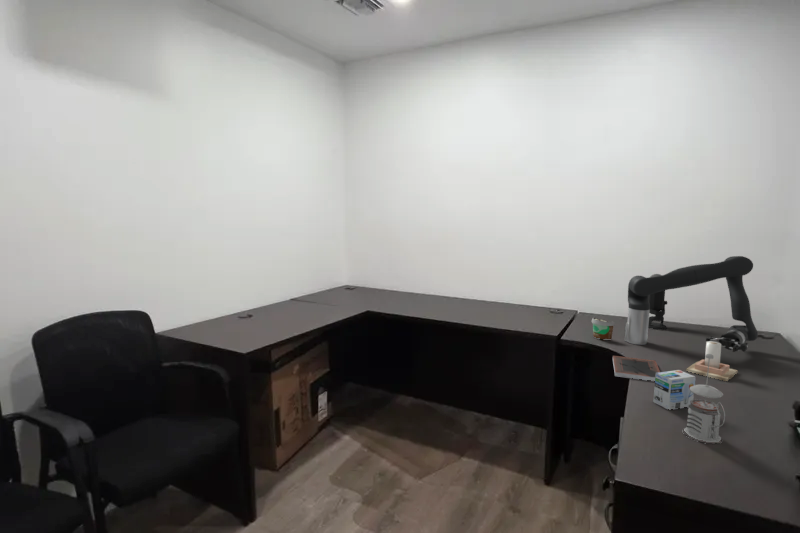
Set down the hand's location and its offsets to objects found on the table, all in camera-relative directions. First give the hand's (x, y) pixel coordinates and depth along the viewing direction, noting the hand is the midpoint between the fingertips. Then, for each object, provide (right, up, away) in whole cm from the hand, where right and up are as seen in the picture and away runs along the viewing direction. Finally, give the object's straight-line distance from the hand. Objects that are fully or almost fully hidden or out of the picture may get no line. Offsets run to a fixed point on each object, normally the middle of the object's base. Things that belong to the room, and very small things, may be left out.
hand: (721, 346), depth 186 cm
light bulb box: (-42, -14, -35) cm, 56 cm away
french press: (-46, -16, -56) cm, 75 cm away
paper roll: (-8, -8, -6) cm, 13 cm away
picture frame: (-38, -10, -3) cm, 39 cm away
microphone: (+8, 0, +63) cm, 64 cm away
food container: (-33, -3, +41) cm, 53 cm away
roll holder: (-8, -9, -6) cm, 14 cm away
